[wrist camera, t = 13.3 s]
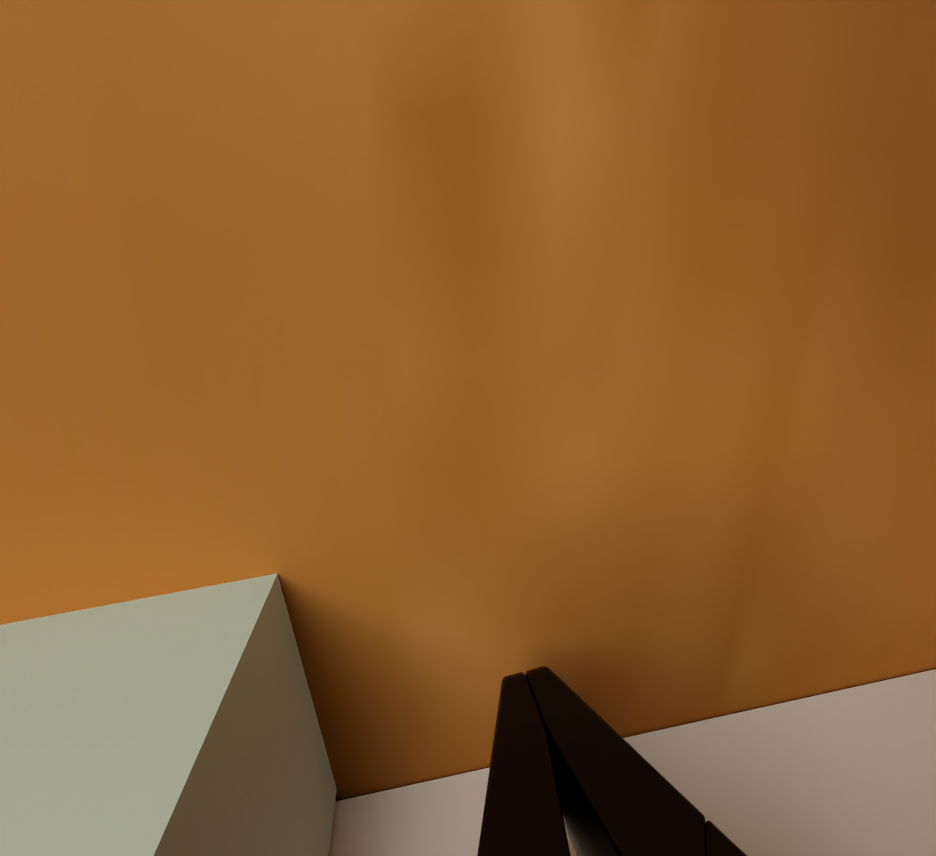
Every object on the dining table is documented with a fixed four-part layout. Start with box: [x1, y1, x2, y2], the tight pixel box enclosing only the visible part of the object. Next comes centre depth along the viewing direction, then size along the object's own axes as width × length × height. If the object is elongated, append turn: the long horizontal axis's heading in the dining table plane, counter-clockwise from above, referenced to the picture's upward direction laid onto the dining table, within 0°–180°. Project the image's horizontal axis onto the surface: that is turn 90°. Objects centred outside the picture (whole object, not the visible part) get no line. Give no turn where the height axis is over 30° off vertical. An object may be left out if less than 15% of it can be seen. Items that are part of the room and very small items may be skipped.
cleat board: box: [329, 669, 936, 856], centre depth 8 cm, size 9×31×4 cm, turn 96°
